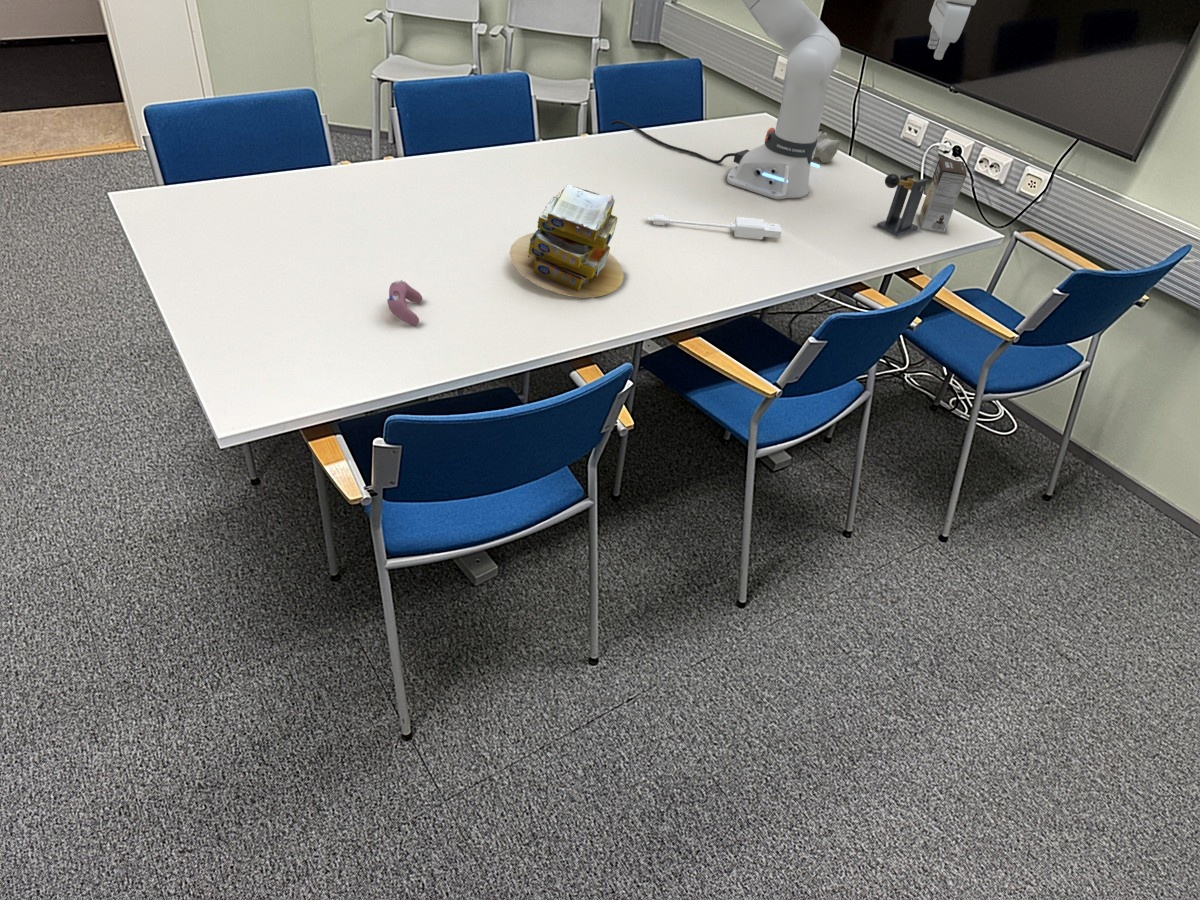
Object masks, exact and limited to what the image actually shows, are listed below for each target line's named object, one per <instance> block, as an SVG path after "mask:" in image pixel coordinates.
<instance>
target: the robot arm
mask: <svg viewBox="0 0 1200 900" xmlns="http://www.w3.org/2000/svg"><path fill="white" fill-rule="evenodd" d="M741 1H742V2H743V4H744V5H745V7H746V9H748V11H749V12H750V13H749V14H751V15H752V17H753V18H754V20H755V21H756V23H757V24H758V25H759V27H760V28H761V29H762V31H763V32H764V33H765V34H766V37H768V38H769V39H771V40H772V41H774V42H775V43H776V44H777V45H778V46H779V47H781V48H782V50H783V51H785V53H787V55H788V57H787V60H786V66H785V72H784V79H783V86H782V96H781V103H780V107H779V108H780V109H779V111H778V116H777V121H776V124H775V125H776V126H775V128H774V127H769V129H767V131H766V135H765V138H764V144H761V145H759V146H756V147H755V148H753V149H750V150H749V149H744V150H741V151H737V152H730V153H726V154H724V155H723V156H722V157H721V158H720V159H717V160H716V159H715V160H714V159H711V158H708V157H706V156H705V155H702V154H701V153H698V152H696V151H693V150H689V149H685V148H683V147H678V146H675V145H672V144H668V143H666V142H663V141H661V140H659V139H657V138H655V137H654V136H652V135H650V134H648V133H647V132H645V131H644V130H642V129H640V128H638V126H637V127H636V126H634V125H632V124H630V123H628V122H626V121H623V120H619V119H617V120H614V121H611V122H610V123H609V124H610V125H615V124H621V125H623V126H626V127H628V128H629V129H632V130H634V131H636V132H638V133H639V134H642V135H643V136H644V137H645V138H648V139H649V140H651V141H653V142H655V143H658V144H659V145H661V146H663V147H666V148H668V149H672V150H674V151H679V152H682V153H686V154H689V155H694V156H696V157H698V158H700V159H702V160H704V161H707V162H710V163H713V164H721V163H722V162H723V161H724V160H725V159H726V158H729V157H733V163H735V164H738V165H737V166H734V167H733V168H731V169H730V170H729V171H728V173H727V176H726V181H727V183H728V184H729V185H731V186H735V187H738V188H741V189H744V190H747V191H750V192H753V193H756V194H759V195H762V196H765V197H768V198H771V199H774V200H783V199H784V200H785V199H798V198H803V197H806V196H807V195H808V194H809V193H810V189H809V188H810V187H809V185H810V184H809V183H810V171H811V166H812V167H814V168H817V169H820V167H821V165H820V164H818V163H816V162H813V161H814V158H815V157H814V155H815V151H816V147H817V146H816V145H817V139H816V138H817V135H818V131H819V129H820V126H821V123H822V119H823V116H824V115H823V114H824V111H825V103H826V97H827V91H828V86H829V81H830V78H831V75H832V73H833V72H834V70H835V69H836V68H837V67H838V65H839V62H840V60H841V55H842V48H841V44H840V40H839V38H838V37H837V36H836V35H835V34H834V33H833V32H832V31H831V30H830V29H829V28H828V26H826V25H825V24H824V22H823V21H822V20H821V19H820V18H819V17H818V16H817V15H816V14H815V13H814V12H813V11H812V10H811V9H810V8H809V7H808V6H807V4H806V3H805V2H804V0H741ZM976 3H977V0H934V1H933V5H932V7H931V10H930V13H929V17H928V22H929V23H930V25H931V29H930V34H929V40H928V43H927V48H928V49H929V50H934V52H933V59H935V60H938V61H941V60H943V58H944V55H945V53H946V51H947V49H948V47H949V46H950V43H952V44H955V43H956V42H958V40H959V39H960V37H961V34H962V33H963V30H964V27H965V25H966V23H967V20H968V18H969V15H970V12H971V9H972V6H973V7H974V6H975V5H976Z"/></svg>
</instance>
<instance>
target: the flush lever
mask: <svg viewBox="0 0 1200 900" xmlns="http://www.w3.org/2000/svg"><path fill="white" fill-rule="evenodd" d="M917 180H918V179H915V178H913V179H912V178H908V179H907V181H904V180H900V177H899V175H898V174H897V173H889V174H888V175H886V177H885V178H884V185H885V186H886V187H887V188H888V189H895V188H897V186H898V185H903V186H904V188H907V189H909V191H911V189H912V186H913V183H914V181H917Z"/></svg>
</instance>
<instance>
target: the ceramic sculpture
mask: <svg viewBox="0 0 1200 900" xmlns="http://www.w3.org/2000/svg"><path fill="white" fill-rule="evenodd" d="M816 139H817V145H816V146H817V147H816V151H815V155H814V158H818V159H819V160H820V162H821V163H826V164H828V163H830V162H831V161H832V160H833V159H834V157H835V155H836V154H837V153H838V150H839V146H840V143H841V142H840V139H839V140H836V139H835V140H833V139H830V138H829V136H828V133H827V132H826V131H825V130H824V129H823V128H819V131H818V135H817V138H816Z"/></svg>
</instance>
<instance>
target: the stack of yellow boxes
mask: <svg viewBox="0 0 1200 900" xmlns="http://www.w3.org/2000/svg"><path fill="white" fill-rule="evenodd" d="M615 202H616V201H615V198H614V195H613V194H610V193H609V194H600V193H597V192H594V191H590V190H587V189H584V188H580V187H579V186H575V185H572V184H569V183H568V184H566V185H565V186H564V188H563V189H562V190H561V191H559V192H558V193H557V195H556V196H552V198H551V199H550V201H549V202H548V203H547V204H546V206H545V208H544V209H543V211H542V212H541V214H540V215H539V216H538V220H537V230H535V232H531V233H529V234H524V235H522V236H521V237H519V238H518V239H516V240H515V241H514V242H513V243H512V244H511V246H510V249H509V257H510V260H511V263H512V265H513V267H514V268H515V269H516V270H517V272H519V274H520V275H521V276H523V277H524V278H526V279H527V280H528V281H530V282H531V283H533V284H534V285H536V286H538V287H540V288H542V289H545V290H547V291H550V292H552V293H556V294H559V295H564V296H567V297H568V296H569V297H575V298H598V297H603V296H605V295H609V294H611V293H613V292H615V291H616V290H618V289H619V288H620V287H621V286H622V284H623V281H624V277H625V273H624V270H623V267H622V266H621V264H620V262H619V261H618V259H617V258H616V257H615V256H614V255H613V254H611V252H610V251H611V247H610V246H609V244H610V243H611V240H612V239H613V236H614V234H615V231H616V228H617V227H616V226H617V222H618V220H619V219H618V216H617V215H613V214H612V213H613V209H614V205H615Z"/></svg>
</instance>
